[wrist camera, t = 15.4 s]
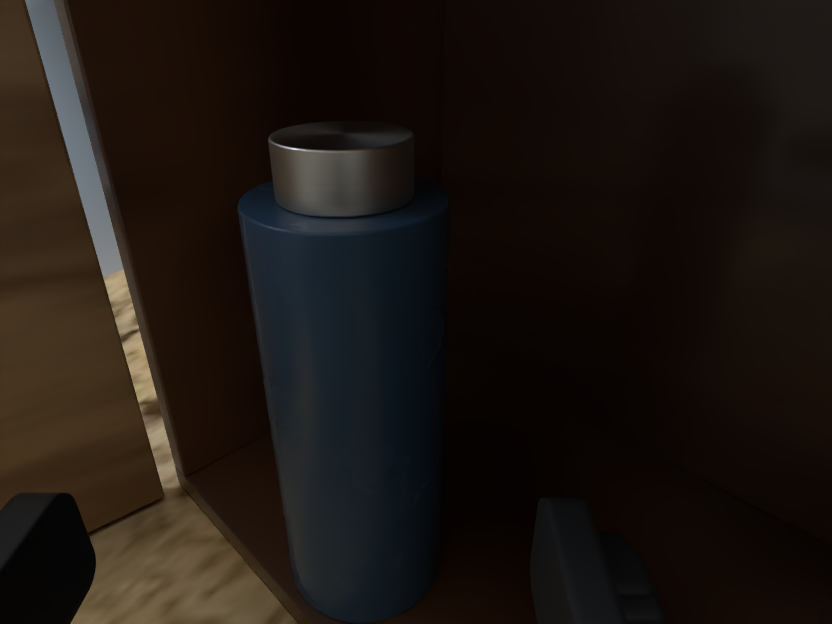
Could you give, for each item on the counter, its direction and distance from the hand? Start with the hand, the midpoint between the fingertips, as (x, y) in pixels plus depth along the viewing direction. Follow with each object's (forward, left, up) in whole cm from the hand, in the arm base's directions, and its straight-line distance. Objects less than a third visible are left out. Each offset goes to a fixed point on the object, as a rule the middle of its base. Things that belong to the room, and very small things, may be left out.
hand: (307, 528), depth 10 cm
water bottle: (+5, -5, -9) cm, 11 cm away
